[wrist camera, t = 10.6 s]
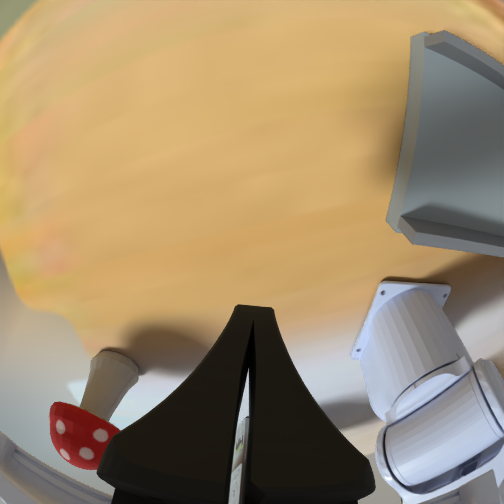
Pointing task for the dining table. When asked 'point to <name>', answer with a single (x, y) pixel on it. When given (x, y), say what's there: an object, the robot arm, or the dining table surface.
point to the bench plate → (451, 149)
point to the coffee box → (239, 463)
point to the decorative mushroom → (92, 411)
